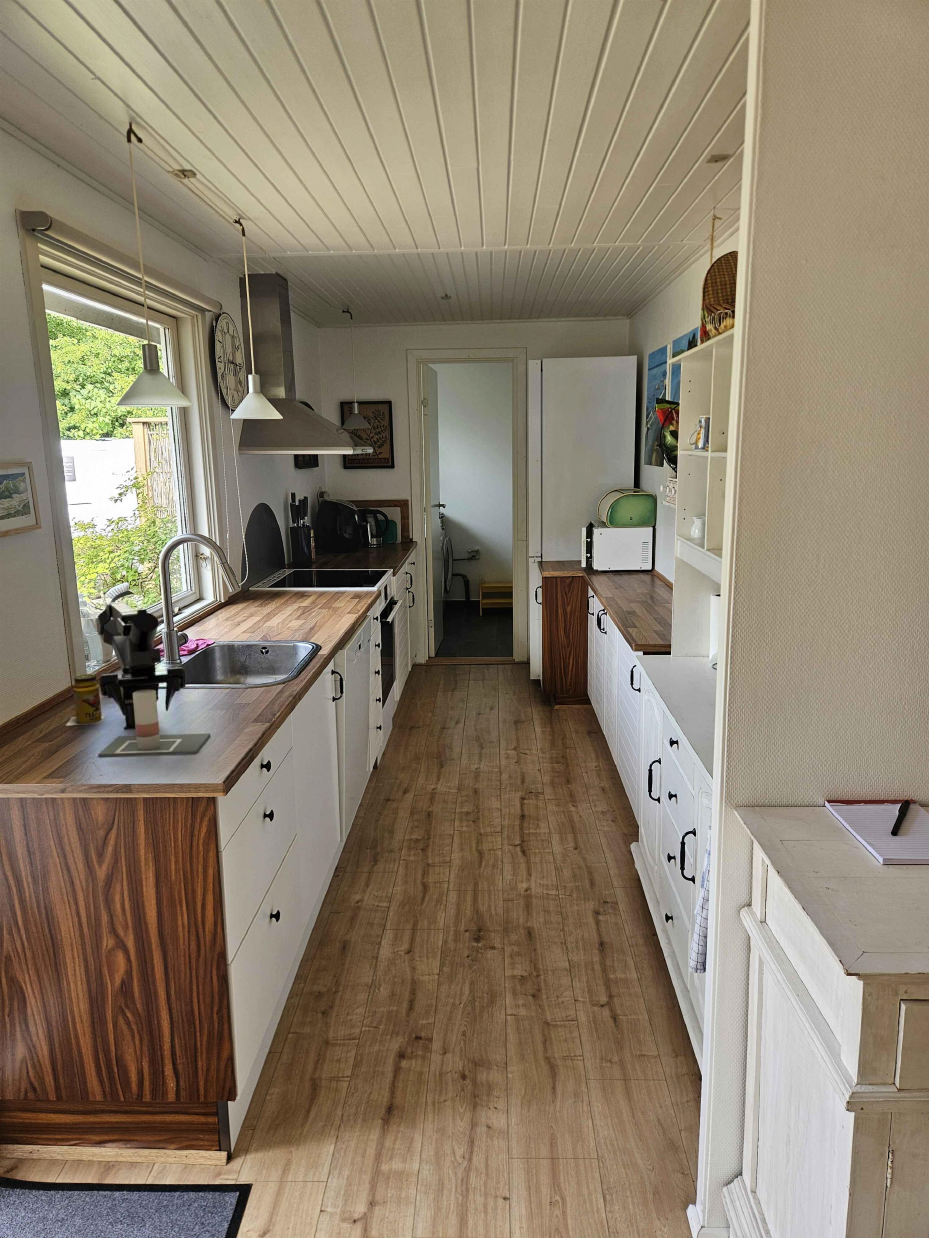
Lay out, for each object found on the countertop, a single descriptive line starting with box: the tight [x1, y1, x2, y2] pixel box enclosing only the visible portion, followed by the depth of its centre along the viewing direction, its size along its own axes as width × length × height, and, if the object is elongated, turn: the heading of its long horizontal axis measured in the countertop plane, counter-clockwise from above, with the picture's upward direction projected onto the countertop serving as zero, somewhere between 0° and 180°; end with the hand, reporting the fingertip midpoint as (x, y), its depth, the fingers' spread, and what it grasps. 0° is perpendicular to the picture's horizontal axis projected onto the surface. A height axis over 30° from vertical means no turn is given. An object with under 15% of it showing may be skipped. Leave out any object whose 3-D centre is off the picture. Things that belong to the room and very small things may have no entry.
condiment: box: [65, 673, 106, 727], centre depth 217 cm, size 7×8×12 cm
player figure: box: [133, 690, 160, 750], centre depth 194 cm, size 5×5×13 cm
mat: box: [97, 733, 211, 758], centre depth 197 cm, size 22×13×1 cm, turn 93°
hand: (145, 712), depth 193 cm, fingers open, 9 cm apart
